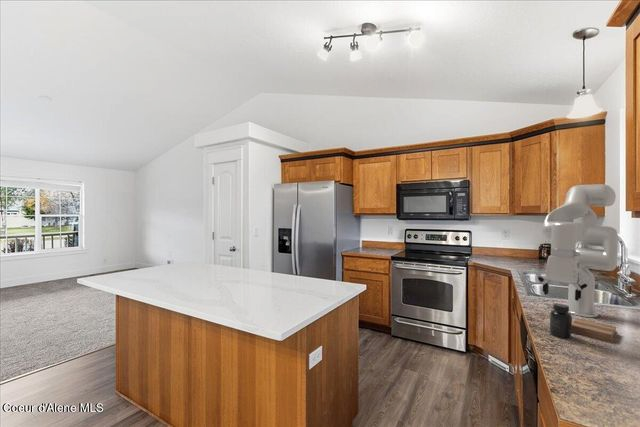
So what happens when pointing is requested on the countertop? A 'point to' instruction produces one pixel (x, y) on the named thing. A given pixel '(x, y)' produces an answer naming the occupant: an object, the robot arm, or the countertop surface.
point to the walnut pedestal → (594, 330)
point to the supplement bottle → (560, 321)
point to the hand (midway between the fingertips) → (561, 296)
